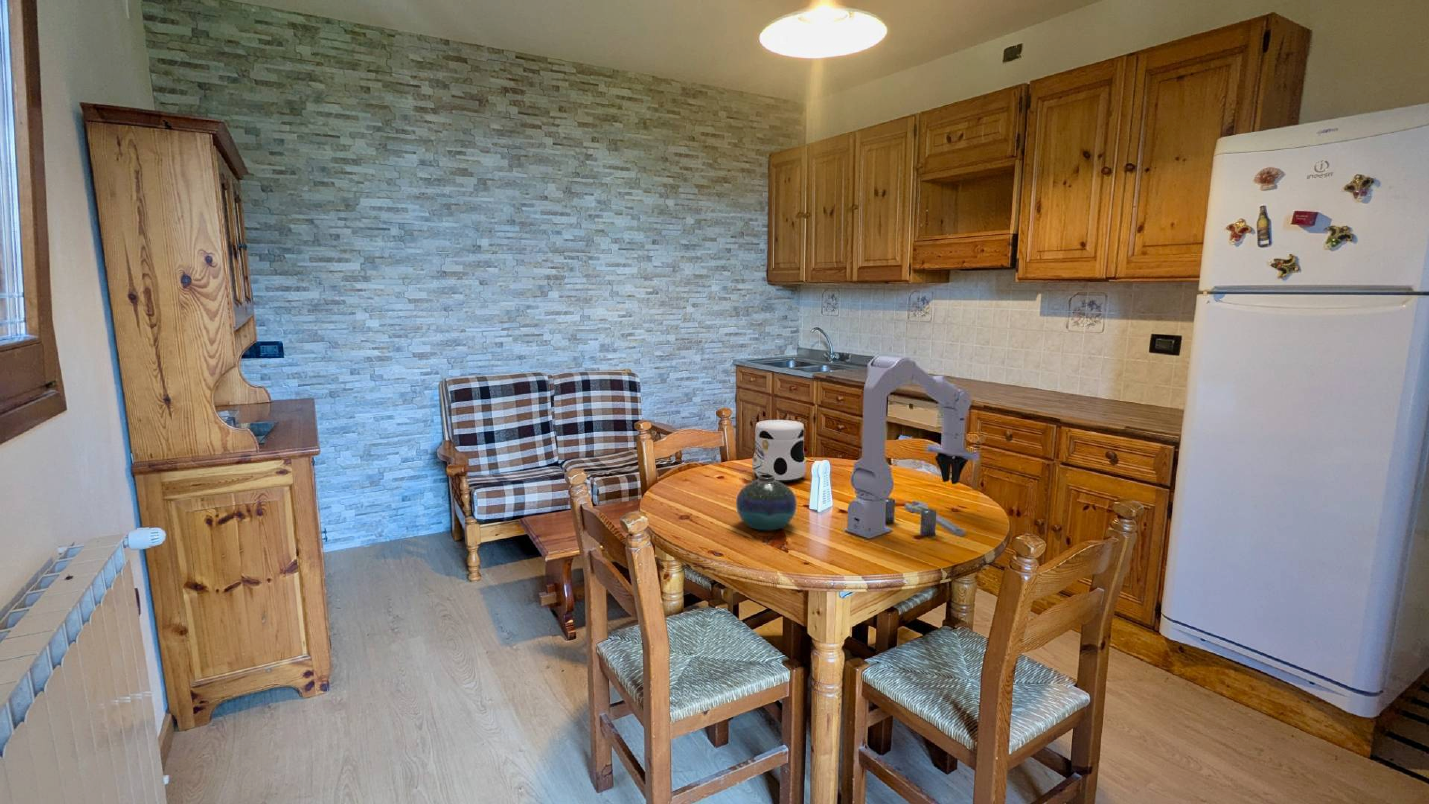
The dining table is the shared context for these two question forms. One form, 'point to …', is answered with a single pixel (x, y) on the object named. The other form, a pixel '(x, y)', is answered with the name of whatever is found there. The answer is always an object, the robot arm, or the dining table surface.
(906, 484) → the dining table surface
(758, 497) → the vase
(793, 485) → the dining table surface
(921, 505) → the adjustable wrench
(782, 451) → the milk container
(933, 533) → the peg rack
